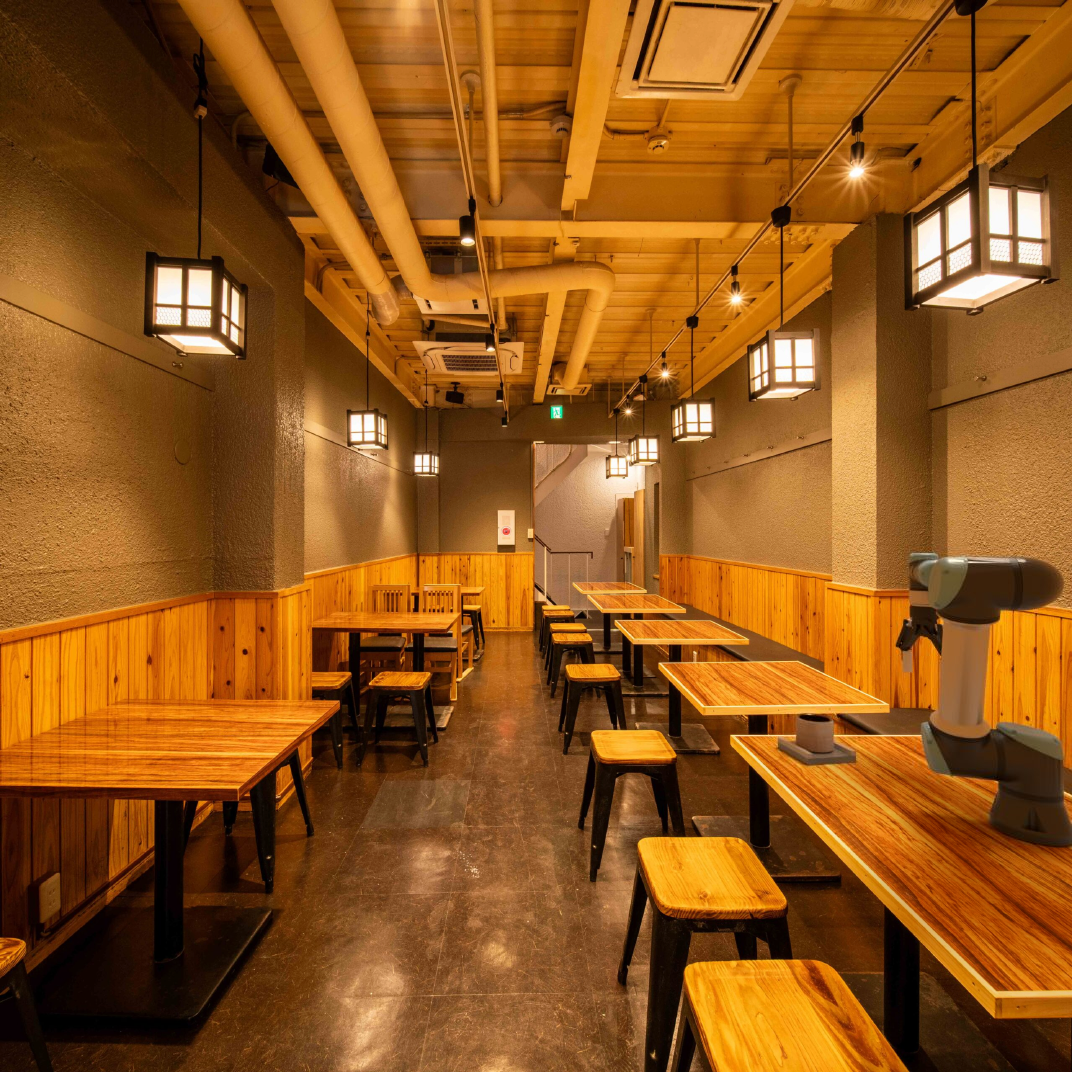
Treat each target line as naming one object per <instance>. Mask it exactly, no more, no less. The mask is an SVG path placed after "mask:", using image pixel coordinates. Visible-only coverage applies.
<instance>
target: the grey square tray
mask: <svg viewBox="0 0 1072 1072" xmlns="http://www.w3.org/2000/svg"><path fill="white" fill-rule="evenodd" d="M777 748H778V750H781V751H783V752H784V753H786V754H788V755H789V756H791V757H792V758H794V759H796V760H798V761H799V762H801V763H802V764H804V765H807V766H819V765H835V764H849V763H850V764H851V763H857V750H854V749H852V748H850V747H848V746H847V745H844V744H842V743H841V742H839V741H836V740H834V750H833V751H831V752H829V753H812V752H808V751H807V750H805V749H803V748H801V747H799V746H797V745H796V740H788V739H786V738H785V737H782V736H778V737H777Z"/></svg>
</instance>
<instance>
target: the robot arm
mask: <svg viewBox="0 0 1072 1072" xmlns="http://www.w3.org/2000/svg"><path fill="white" fill-rule="evenodd" d="M907 567H908V583H909V585H908V587H909V588H908V602H909V604H911V605H909V608H908V609H909V617H910V618H904V619H903V621H902V627H901V630H900V632H899V634H898V637H897V640H896V643H895V647H896V648H898V649H899V650H900V651H901V652H900V653H901V654H900V655H901V661H902V673H904V674H907V673H910V674H912V673H913V651H912V649H911V648H912V647H913V646H914V644H915V643H916V642H917V641H918V639H919V638H920V637H923V638H927V639H928V640H930V642H931V644H932V645H933V647H934V648H935V650H936V652H938V654H939V656H940V658H939V659H938V661H939V662H938V664H939V665H938V666H939V669H938V670H939V675H938V676H939V687H938V688H939V689H938V691H939V692H938V706H937V710H935V711H933V712H932V713H931V714H930V716H929V721H924V722H921V723H920V737H921V742H922V747H923V751H924V756H925V759H926V763H927V766H928V767H929V770H931V771H932V772H933V773H935V774H939V775H946V776H950V777H959V778H960V777H961V778H967V779H968V778H969V779H976V780H986V781H994V782H997V791H996V792H997V793H996V795H995V797H994V800H993V802H992V806H991V808H990V809H989V811H988V812H989V817H988V818H989V821H988V822H989V824H990V825H991V826H992V827H993V828H994V829H996V831H999V832H1001V833H1002V834H1005V835H1007V836H1009V837H1012V838H1015V839H1018V840H1021V841H1025V842H1027V843H1028V842H1029V843H1032V844H1035V845H1042V846H1048V847H1050V846H1051V847H1069V846H1072V822H1071V819H1070V816H1069V813H1068V811H1067V808H1066V805H1065V786H1064V783H1065V781H1064V779H1065V778H1064V761H1065V757H1064V751H1063V743H1062V741H1061V740H1060V738H1058V736H1056V735H1054V734H1053V733H1050V732H1048V731H1045V730H1043V729H1039V728H1037V727H1033V726H1029V725H1026V724H1025V725H1024V724H1021V723H1015V722H1008V721H998V722H997V724H996V725H995V728H991V726H990V723H988V721H986V719H984V708H985V696H986V686H987V685H986V683H987V674H988V673H987V672H988V661H989V651H990V650H989V647H990V634H991V627H992V626H994V625H995V624H998V623H999V622H1000V620H1001V612H1002V611H1003V612H1004V611H1007V612H1009V611H1011V612H1015V611H1019V612H1021V611H1025V612H1026V611H1032V610H1037V609H1041V608H1044V607H1046V606H1049V605H1050V604H1052V603H1055V601H1057V600H1058V599H1059V597H1061V595H1062V593H1063V592H1064V589H1065V581H1064V580H1065V579H1064V576H1063V575H1062V573H1061V572H1060V571H1059V569H1058V568H1057V567H1055V566H1054V565H1053V564H1051V563H1049V562H1047V561H1044V560H1041V559H1038V558H1033V557H1025V556H965V555H958V556H945V557H941V558H939V555H938V554H937V553H936V552H935V553H934V552H933V553H932V552H931V553H929V552H927V553H926V552H921V553H918V552H917V553H915V552H913V553H910V554H909V555H908V563H907ZM940 619H941V620H942V621H943V623H938V620H940Z"/></svg>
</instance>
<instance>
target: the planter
mask: <svg viewBox="0 0 1072 1072" xmlns="http://www.w3.org/2000/svg"><path fill="white" fill-rule="evenodd" d="M834 731H835V730H834V719H833V718H832V717H831V716H827V715H825V714H820V713H809V712H804V713H803V712H801V713H798V714H796V715H795V741H796V745H797V746H799V747H801V748H803V749H805V750H807V751H808V752H812V753H829V752H831V751H833V750H834V741H835V738H834V737H835V734H834V733H835V732H834Z"/></svg>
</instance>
